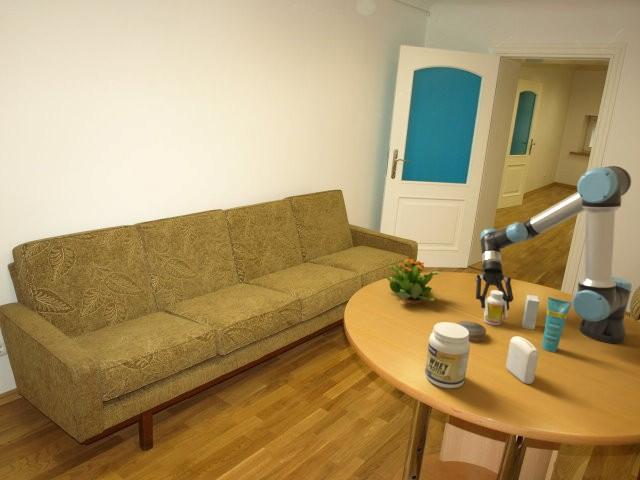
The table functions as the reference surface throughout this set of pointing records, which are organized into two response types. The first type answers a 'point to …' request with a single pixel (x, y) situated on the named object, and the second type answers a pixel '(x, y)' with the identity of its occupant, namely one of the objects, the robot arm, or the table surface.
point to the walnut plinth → (474, 331)
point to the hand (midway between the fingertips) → (496, 316)
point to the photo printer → (522, 359)
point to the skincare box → (530, 312)
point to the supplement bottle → (495, 308)
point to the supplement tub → (447, 355)
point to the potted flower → (411, 282)
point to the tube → (554, 323)
